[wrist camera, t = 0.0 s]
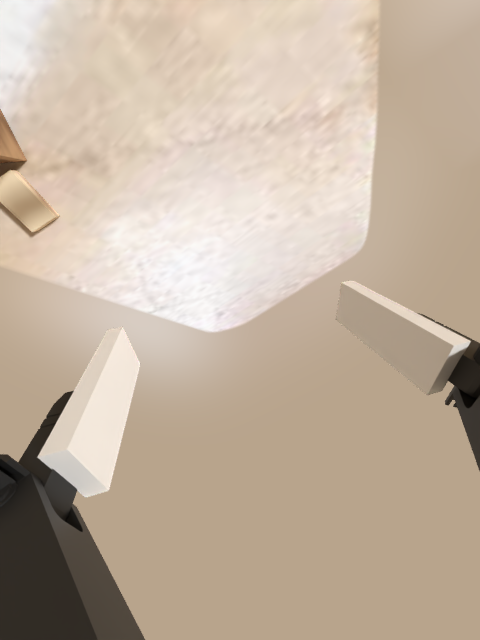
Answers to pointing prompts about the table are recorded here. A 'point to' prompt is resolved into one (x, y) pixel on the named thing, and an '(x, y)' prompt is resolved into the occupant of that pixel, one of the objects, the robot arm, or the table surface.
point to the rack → (8, 144)
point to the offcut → (25, 201)
